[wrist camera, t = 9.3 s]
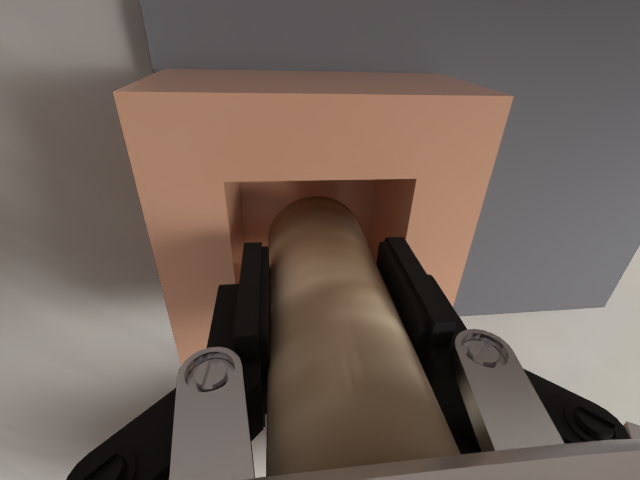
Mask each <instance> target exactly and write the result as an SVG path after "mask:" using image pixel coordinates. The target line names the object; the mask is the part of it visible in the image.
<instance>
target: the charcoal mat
mask: <svg viewBox="0 0 640 480" xmlns="http://www.w3.org/2000/svg"><path fill="white" fill-rule="evenodd" d="M139 1H140V6H141V11H142V17H143V22H144V27H145V32H146V38H147V43H148V48H149V53H150V58H151V64H152V69H153V74H154V73H156V72H159V71H161V70H163V69H166V68H176V69H229V70H282V71H335V72H389V73H439V74H442V75H445V76H449V77H452V78H455V79H459V80H462V81H465V82H469V83H472V84H475V85H479V86H482V87H485V88H489V89H492V90H495V91H499V92H502V93H505V94H509V95H512V96H514V97H513V101H512V104H511V108H510V111H509V115H508V118H507V122H506V125H505V129H504V132H503V135H502V139H501V142H500V146H499V149H498V153H497V156H496V160H495V163H494V167H493V170H492V174H491V177H490V181H489V184H488V187H487V191H486V194H485V198H484V201H483V205H482V208H481V212H480V215H479V219H478V222H477V226H476V229H475V233H474V236H473V240H472V243H471V246H470V250H469V253H468V257H467V260H466V264H465V267H464V271H463V274H462V278H461V281H460V285H459V288H458V292H457V295H456V298H455V302H454V305H453V308H454V310H455V311H456V313H457V314H458V316H472V315H487V314H503V313H519V312H535V311H550V310H566V309H582V308H598V307H605V305H606V303H607V301H608V300H609V298H610V296H611V294H612V293H613V291H614V289H615V287H616V286H617V284H618V282H619V280H620V279H621V277H622V275H623V273H624V272H625V270H626V268H627V266H628V265H629V263H630V261H631V259H632V258H633V256H634V254H635V252H636V251H637V249H638V247H639V245H640V0H139Z"/></svg>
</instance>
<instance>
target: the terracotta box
mask: <svg viewBox="0 0 640 480" xmlns="http://www.w3.org/2000/svg"><path fill="white" fill-rule="evenodd" d="M113 95H114V99H115V103H116V107H117V111H118V115H119V119H120V123H121V127H122V131H123V135H124V139H125V143H126V147H127V151H128V155H129V159H130V163H131V167H132V171H133V175H134V179H135V183H136V187H137V191H138V195H139V199H140V203H141V207H142V211H143V215H144V219H145V223H146V227H147V231H148V235H149V239H150V243H151V247H152V251H153V255H154V259H155V263H156V267H157V271H158V275H159V279H160V283H161V287H162V291H163V295H164V299H165V303H166V307H167V311H168V315H169V319H170V323H171V327H172V331H173V335H174V339H175V343H176V347H177V351H178V355H179V359H180V363H181V366H182V364H183V363H184V361H185V360H186V359H188V358H189V357H190V356H191V355H192V354H194V353H196V352H198V351H200V350H203V349H206V348H207V343H208V337H209V332H210V327H211V322H212V317H213V312H214V307H215V302H216V296H217V291H218V287H219V285H224V284H239V280H240V271H241V263H242V254H243V246H244V243H248V242H262V246H268V234H269V229H270V226H271V223H272V221H273V219H274V218H275V217H276V215H277V214H278V213H279V212H280V211H281V210H282V209H283V208H284V207H285V206H287V205H288V204H290V203H292V202H294V201H296V200H299V199H302V198H306V197H312V196H322V197H328V198H332V199H335V200H337V201H339V202H341V203H343V204H344V205H345V206H347V207H348V208H349V209H350V210H351V211H352V212H353V214H354V215H355V217H356V219H357V221H358V223H359V226H360V228H361V230H362V232H363V235H364V237H365V239H366V241H367V244H368V246H369V248H370V250H371V253H372V255H373V257H374V260H375V262H377V254H378V247H379V243H380V242H384V240H385V238H386V237H404V238H405V240H406V241H407V243H408V245H409V246H410V248H411V249H412V251H413V253H414V254H415V256H416V257H417V259H418V261H419V262H420V264H421V265H422V267H423V269H424V270H425V272H426V273H427V274H430V275H432V276H433V277H434V279H435V280H436V282H437V283H438V285H439V286H440V288H441V289H442V291H443V293H444V294H445V296H446V297H447V299H448V300H449V302H450V303H451V305H452V307H453V305H454V302H455V298H456V295H457V292H458V288H459V285H460V281H461V278H462V274H463V271H464V267H465V264H466V260H467V257H468V253H469V250H470V246H471V243H472V240H473V236H474V233H475V229H476V226H477V222H478V219H479V215H480V212H481V208H482V205H483V201H484V198H485V194H486V191H487V187H488V184H489V181H490V177H491V174H492V170H493V167H494V163H495V160H496V156H497V153H498V149H499V146H500V142H501V139H502V135H503V132H504V129H505V125H506V122H507V118H508V115H509V111H510V108H511V104H512V101H513V97H514V96H512V95H509V94H505V93H502V92H499V91H495V90H492V89H489V88H485V87H482V86H479V85H475V84H472V83H469V82H465V81H462V80H459V79H455V78H452V77H449V76H445V75H442V74H439V73H389V72H335V71H282V70H229V69H176V68H166V69H163V70H161V71H159V72H156V73H154V74H152V75H149V76H147V77H145V78H142V79H140V80H138V81H136V82H133V83H131V84H129V85H126V86H124V87H122V88H119V89H117V90H115V91H113Z"/></svg>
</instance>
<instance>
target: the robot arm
mask: <svg viewBox="0 0 640 480" xmlns="http://www.w3.org/2000/svg"><path fill="white" fill-rule="evenodd" d="M376 264H377V266H378V269H379V271H380V273H381V275H382V278H383V280H384V282H385V284H386V287H387V289H388V291H389V293H390V296H391V298H392V300H393V302H394V305H395V307H396V309H397V311H398V314H399V316H400V318H401V320H402V323H403V325H404V327H405V329H406V332H407V334H408V336H409V338H410V341H411V343H412V345H413V347H414V350H415V352H416V354H417V356H418V359H419V361H420V363H421V365H422V368H423V370H424V372H425V375H426V377H427V379H428V381H429V384H430V386H431V388H432V390H433V393H434V395H435V397H436V399H437V402H438V404H439V406H440V408H441V411H442V413H443V415H444V417H445V420H446V422H447V424H448V426H449V429H450V431H451V433H452V435H453V438H454V440H455V442H456V444H457V447H458V449H459V451H460V453H461V455H452V456H444V457H435V458H426V459H417V460H408V461H399V462H390V463H381V464H372V465H363V466H354V467H346V468H337V469H328V470H320V471H311V472H303V473H294V474H286V475H277V476H269V477H260V478H255V471H254V462H253V453H252V444H251V441H252V440H253V439H254V438H255V437H256V436H257V435H258V434H259V433H260V432H261V431H262V430H263V427H265V414H267V374H268V369H269V366H270V266H269V248H268V246H262V242H248V243H244V246H243V254H242V263H241V271H240V280H239V284H224V285H219V287H218V291H217V296H216V302H215V307H214V312H213V317H212V322H211V327H210V332H209V337H208V343H207V348H206V349H203V350H200V351H198V352H196V353H194V354H192V355H191V356H190V357H189V358H188V359H186V360H185V361H184V363H183V364H182V366H181V367H180V369H179V372H178V376H177V385H176V388H175V389H174V390H173V391H171V392H170V393H169V394H167V395H166V396H165V397H163V398H162V399H161V400H159V401H158V402H157V403H155V404H154V405H153V406H151V407H150V408H149V409H147V410H146V411H145V412H143V413H142V414H141V415H139V416H138V417H137V418H135V419H134V420H133V421H131V422H130V423H129V424H127V425H126V426H125V427H123V428H122V429H121V430H119V431H118V432H117V433H115V434H114V435H113V436H111V437H110V438H109V439H107V440H106V441H105V442H103V443H102V444H101V445H99V446H98V447H97V448H95V449H94V450H93V451H91V452H90V453H89V454H87V455H86V456H85V457H84V458H83V459H82V460H81V461H80V462H79V463H78V464H77V465H76V466H75V467H74V469H73V470H72V471H71V473H70V474H69V475H68V477H67V479H66V480H640V426H639V425H636V424H633V423H630V422H626V423H625V424H624V425H622V424H621V423H620V422H619V421H618V419H617V418H616V417H614V416H613V415H612V414H611V413H609V412H608V411H607V410H605V409H604V408H602V407H600V406H599V405H597V404H595V403H593V402H591V401H589V400H587V399H585V398H583V397H581V396H579V395H577V394H574V393H572V392H570V391H568V390H566V389H564V388H562V387H560V386H558V385H556V384H554V383H552V382H550V381H548V380H546V379H544V378H541V377H539V376H537V375H535V374H533V373H531V372H529V371H527V370H525V369H523V368H522V366H521V364H520V362H519V361H518V359H517V357H516V355H515V353H514V352H513V350H512V349H511V347H510V346H509V345H508V344H507V343H506V342H505V341H504V340H503V339H501V338H500V337H498V336H496V335H494V334H493V333H490V332H487V331H484V330H478V329H468V330H467V328H466V327H465V325H464V324H463V322H462V321H461V319H460V317H459V316H458V314H457V313H456V311H455V310H454V308H453V307H452V305H451V303H450V302H449V300H448V299H447V297H446V296H445V294H444V293H443V291H442V289H441V288H440V286H439V285H438V283H437V282H436V280H435V279H434V277H433V276H432V275H430V274H427V273H426V272H425V270H424V269H423V267H422V265H421V264H420V262H419V261H418V259H417V257H416V256H415V254H414V253H413V251H412V249H411V248H410V246H409V245H408V243H407V241H406V240H405V238H404V237H386V238H385V240H384V242H380V243H379V247H378V254H377V262H376Z"/></svg>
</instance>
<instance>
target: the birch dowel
mask: <svg viewBox="0 0 640 480" xmlns="http://www.w3.org/2000/svg"><path fill="white" fill-rule="evenodd" d="M268 248H269V266H270V366H269V369H268V374H267V447H266V477H269V476H277V475H286V474H294V473H303V472H311V471H320V470H328V469H337V468H346V467H354V466H363V465H372V464H381V463H390V462H399V461H408V460H417V459H426V458H435V457H444V456H452V455H461V453H460V451H459V449H458V447H457V444H456V442H455V440H454V438H453V435H452V433H451V431H450V429H449V426H448V424H447V422H446V420H445V417H444V415H443V413H442V411H441V408H440V406H439V404H438V402H437V399H436V397H435V395H434V393H433V390H432V388H431V386H430V384H429V381H428V379H427V377H426V375H425V372H424V370H423V368H422V365H421V363H420V361H419V359H418V356H417V354H416V352H415V350H414V347H413V345H412V343H411V341H410V338H409V336H408V334H407V332H406V329H405V327H404V325H403V323H402V320H401V318H400V316H399V314H398V311H397V309H396V307H395V305H394V302H393V300H392V298H391V296H390V293H389V291H388V289H387V287H386V284H385V282H384V280H383V278H382V275H381V273H380V271H379V269H378V266H377V264H376V262H375V260H374V257H373V255H372V253H371V250H370V248H369V246H368V244H367V241H366V239H365V237H364V235H363V232H362V230H361V228H360V226H359V223H358V221H357V219H356V217H355V215H354V214H353V212H352V211H351V210H350V209H349V208H348V207H347V206H345V205H344V204H343V203H341V202H339V201H337V200H335V199H332V198H328V197H322V196H312V197H306V198H302V199H299V200H296V201H294V202H292V203H290V204H288V205H287V206H285V207H284V208H283V209H282V210H281V211H280V212H279V213H278V214H277V215H276V217H275V218H274V219H273V221H272V223H271V226H270V229H269V234H268Z"/></svg>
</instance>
